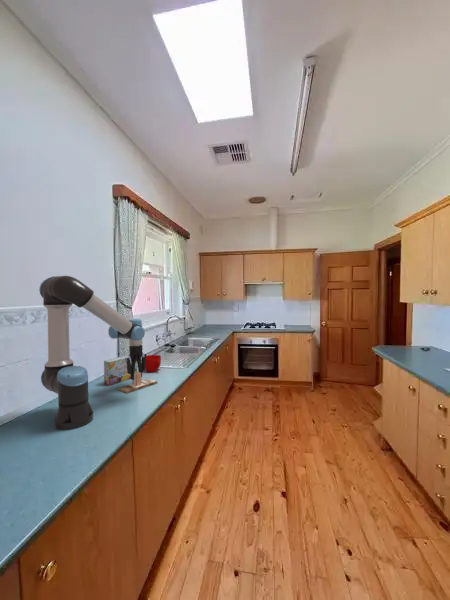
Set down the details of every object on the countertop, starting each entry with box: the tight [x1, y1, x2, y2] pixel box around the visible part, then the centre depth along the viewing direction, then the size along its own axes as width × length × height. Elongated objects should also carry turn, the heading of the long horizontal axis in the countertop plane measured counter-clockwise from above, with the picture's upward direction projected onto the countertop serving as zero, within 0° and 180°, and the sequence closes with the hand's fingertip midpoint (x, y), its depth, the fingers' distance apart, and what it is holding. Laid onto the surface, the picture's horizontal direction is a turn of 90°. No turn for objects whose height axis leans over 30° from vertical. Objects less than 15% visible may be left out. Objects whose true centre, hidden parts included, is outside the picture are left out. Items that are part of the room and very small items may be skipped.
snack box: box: [103, 354, 138, 387], centre depth 174 cm, size 21×6×15 cm, turn 148°
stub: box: [128, 371, 146, 388], centre depth 162 cm, size 6×8×7 cm
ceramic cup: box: [145, 354, 162, 373], centre depth 193 cm, size 13×17×10 cm
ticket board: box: [117, 378, 158, 395], centre depth 163 cm, size 21×9×2 cm, turn 141°
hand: (136, 383), depth 162 cm, fingers closed on stub, 3 cm apart
